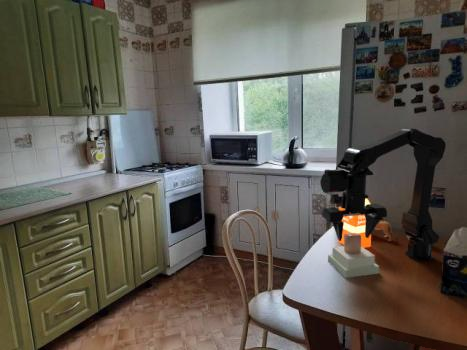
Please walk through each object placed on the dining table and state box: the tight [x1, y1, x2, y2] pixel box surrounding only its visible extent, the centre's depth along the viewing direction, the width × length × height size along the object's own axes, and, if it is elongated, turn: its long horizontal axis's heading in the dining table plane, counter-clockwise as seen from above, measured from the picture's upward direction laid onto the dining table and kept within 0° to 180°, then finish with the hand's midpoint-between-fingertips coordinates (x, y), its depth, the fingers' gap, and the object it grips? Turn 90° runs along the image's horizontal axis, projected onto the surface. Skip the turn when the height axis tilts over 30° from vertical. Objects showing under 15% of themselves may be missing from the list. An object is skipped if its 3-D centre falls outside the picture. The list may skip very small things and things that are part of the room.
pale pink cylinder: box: [343, 233, 361, 253], centre depth 104 cm, size 5×5×5 cm
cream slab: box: [331, 245, 376, 269], centre depth 105 cm, size 9×9×3 cm
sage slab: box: [327, 253, 380, 279], centre depth 106 cm, size 11×11×3 cm
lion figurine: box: [374, 220, 399, 242], centre depth 128 cm, size 15×5×9 cm, turn 53°
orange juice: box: [337, 197, 372, 249], centre depth 121 cm, size 8×9×20 cm
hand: (353, 239), depth 104 cm, fingers open, 9 cm apart
